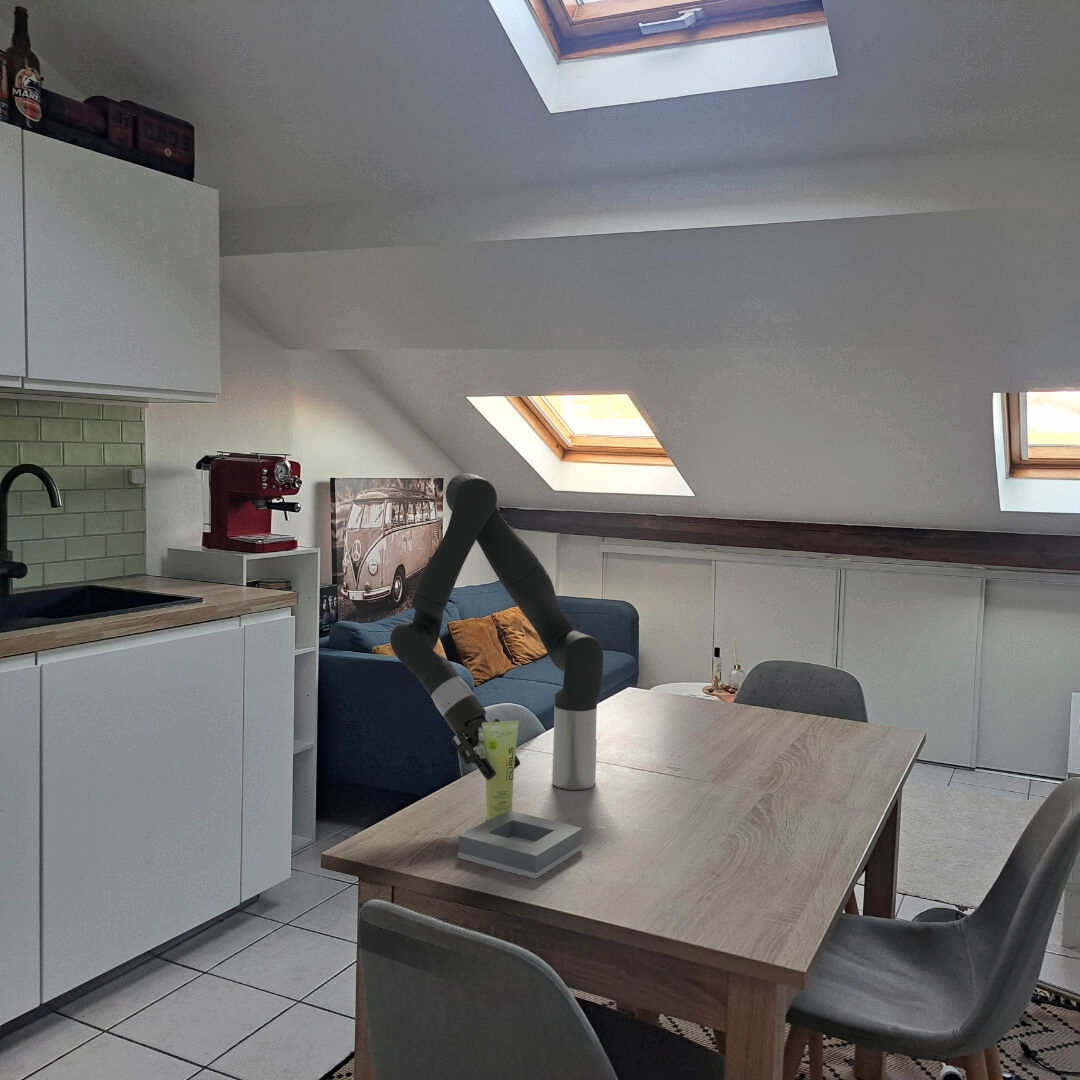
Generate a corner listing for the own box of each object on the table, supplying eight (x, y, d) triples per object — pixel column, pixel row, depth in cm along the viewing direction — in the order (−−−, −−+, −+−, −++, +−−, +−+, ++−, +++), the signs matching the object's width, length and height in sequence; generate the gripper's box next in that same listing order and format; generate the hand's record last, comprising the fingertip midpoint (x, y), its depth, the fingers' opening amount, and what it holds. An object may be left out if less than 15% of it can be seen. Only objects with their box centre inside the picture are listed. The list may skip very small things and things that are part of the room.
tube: (501, 826, 191) (504, 726, 190) (479, 821, 194) (481, 722, 192) (516, 818, 196) (519, 720, 195) (494, 813, 199) (497, 716, 197)
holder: (508, 830, 189) (508, 810, 189) (582, 849, 181) (582, 828, 180) (457, 857, 175) (458, 835, 175) (535, 879, 167) (536, 855, 167)
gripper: (447, 700, 191) (496, 770, 186) (489, 687, 203) (536, 752, 198) (425, 723, 194) (472, 792, 189) (468, 709, 206) (513, 774, 201)
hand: (504, 772), depth 194 cm, fingers open, 8 cm apart
